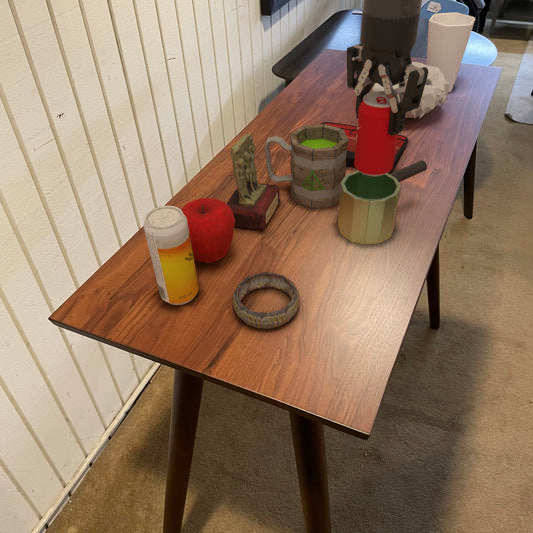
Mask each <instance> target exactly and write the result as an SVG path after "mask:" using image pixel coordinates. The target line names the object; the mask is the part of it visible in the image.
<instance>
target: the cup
mask: <svg viewBox="0 0 533 533" xmlns="http://www.w3.org/2000/svg"><path fill="white" fill-rule="evenodd" d="M475 22H476V17H474V16H472V15H468V14H464V13H461V12H441V13H440V12H439V13H434V14H432V15H431V17H430V18H429V20H428V26H427V27H428V28H427V29H428V30H427V45H426V62H425V65H428V66H432V67H439V69H440V71H441V72H442V73H443V74H444V77H445V80H446V81H447V82H448V83H449V89H448V93H451V92H452V91H453V89H454V87H455V83H456V80H457V77H458V75H459V71H460V68H461V64H462V61H463V58H464V56H465V52H466V50H467V46H468V43H469V40H470V37H471V34H472V30H473V27H474V25H475ZM453 85H454V86H453Z"/></svg>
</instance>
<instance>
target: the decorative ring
mask: <svg viewBox="0 0 533 533" xmlns="http://www.w3.org/2000/svg"><path fill="white" fill-rule="evenodd" d="M263 289H275V290H278V291H281V292H283V293H285V295H287V296H289V298H290V301H289V302H288V303H287V304H286V305H285V306H284V307H281V308H280V309H277V310H273V311H268V312H267V311H266V312H264V311H256V310H253V309H250V308H247V306H245V305H244V304H243V303H242V301H243V299H244V298H245V297H246V296H247V295H248V294H251V293H253V292H254V291H257V290H263ZM300 303H301V300H300V293H299V290H298V288H297V287H296V285H295V284H294V282H293V281H292V280H291V279H289V278H288V277H286V276H285V275H283V274H280V273H277V272H271V271H269V272H268V271H263V272H257V273H253V274H251V275H249V276H247V277H244V279H243V280H241V281H240V282H239V283H238V284H237V286H236V288H235V289H234V292H233V295H232V308H233V309H234V312H235V313H236V315H237V317H238V318H239V319H240V320H241V321H243V322H244V323H245V324H246V325H248V326H251V327H253V328H256V329H264V330H269V329H273V328H279V327H281V326H283V325H285V324H287V323H288V322H289V321H290V320H291V319H292V318H293V317H294V316H295V315H296V314H297V312H298V309H299V307H300Z"/></svg>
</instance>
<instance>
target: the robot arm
mask: <svg viewBox="0 0 533 533" xmlns="http://www.w3.org/2000/svg"><path fill="white" fill-rule="evenodd" d="M422 3H423V0H362V12H361V24H360V37H359V42H360V43H359V44H354V45H351V46H348V47H347V48H346V86H347V87H348V88H349V89H353V90H354V94H355V95H356V100H355V114H356V115H355V116H356V119H357V120H358V112H359V106H360V104H361V102H362V100H363V97H364V95H366V94H367V93H369V92H370V91H371V90H372V88H373V86H374V85H375V83H378V84H379V85H381V86H382V87H384V91H385V95H386V97H388V98H389V101H390V105H391V110H392V111H390V117H389V125H388V134H389V135H391V136H394V135H396V134H401V132H402V131H403V130H404V129H405V123H406V122H405V121H406V118H405V116H406V112H409V111H412V110H414V109H417V108H419V106H420V102H421V98H422V95H423V91H424V87H425V84H426V80H427V76H428V69H427V68H426V67H423V68H418V67H416V66H414V65H412V62H413V61H412V54H411V53H412V51H413V48H414V46H415V45H416V42H417V37H418V30H419V23H420V16H421V11H422ZM355 74H356V77H355ZM406 74H407V77H406ZM398 83H399V87H398V88H396V89H394V88H393V86H394V85H396V84H398ZM398 94H399V98H400V102H398V98H397V95H398Z"/></svg>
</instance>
